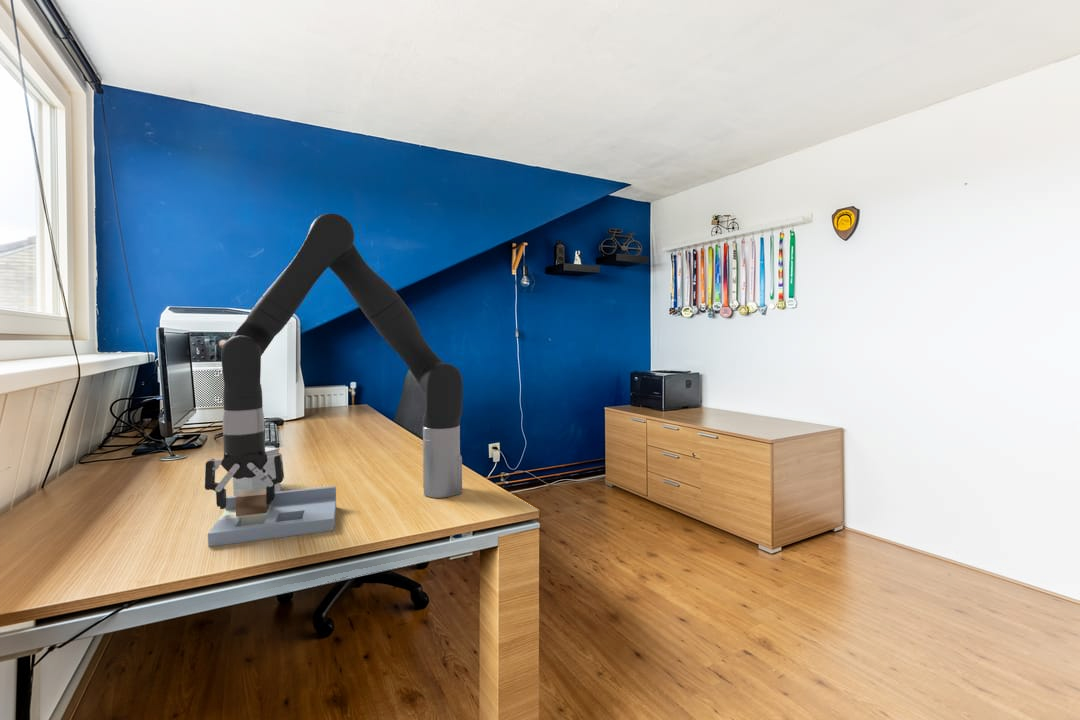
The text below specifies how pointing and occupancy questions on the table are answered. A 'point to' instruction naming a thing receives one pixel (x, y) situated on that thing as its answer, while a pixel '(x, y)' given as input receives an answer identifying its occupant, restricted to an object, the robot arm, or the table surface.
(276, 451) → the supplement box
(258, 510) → the walnut block
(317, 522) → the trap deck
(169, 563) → the table surface
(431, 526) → the table surface
